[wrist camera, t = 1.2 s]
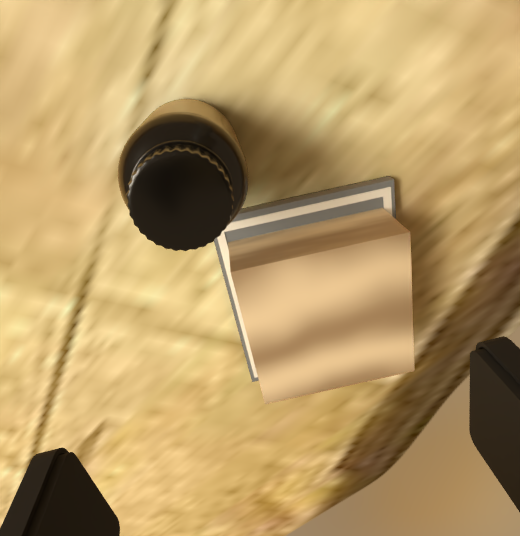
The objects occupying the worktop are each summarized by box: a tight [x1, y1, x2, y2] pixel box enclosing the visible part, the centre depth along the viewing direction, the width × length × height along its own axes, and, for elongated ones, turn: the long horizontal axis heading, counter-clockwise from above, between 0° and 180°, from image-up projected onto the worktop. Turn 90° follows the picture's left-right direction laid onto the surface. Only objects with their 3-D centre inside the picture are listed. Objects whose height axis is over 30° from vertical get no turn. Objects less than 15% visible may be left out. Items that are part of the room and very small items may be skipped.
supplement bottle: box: [118, 99, 248, 251], centre depth 24 cm, size 7×7×12 cm
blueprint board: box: [214, 176, 396, 382], centre depth 35 cm, size 16×14×1 cm
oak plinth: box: [228, 208, 414, 404], centre depth 32 cm, size 12×12×5 cm
